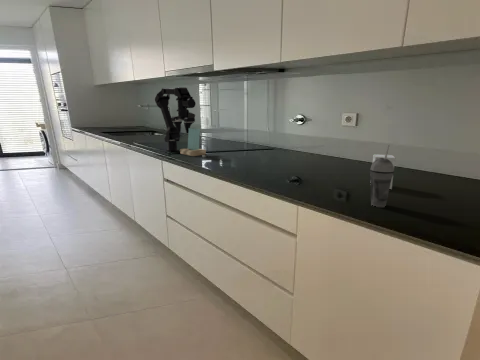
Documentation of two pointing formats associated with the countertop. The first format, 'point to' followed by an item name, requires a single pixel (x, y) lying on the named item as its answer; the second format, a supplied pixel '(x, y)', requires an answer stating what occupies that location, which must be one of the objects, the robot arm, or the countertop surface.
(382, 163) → the beverage cup
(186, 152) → the birch base block
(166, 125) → the robot arm
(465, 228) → the countertop surface
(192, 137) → the teal tall block
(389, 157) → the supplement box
